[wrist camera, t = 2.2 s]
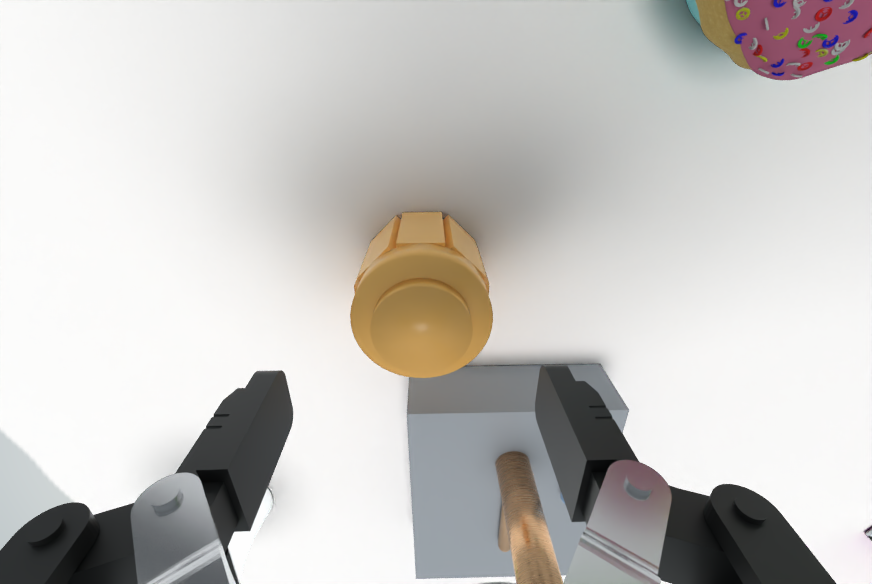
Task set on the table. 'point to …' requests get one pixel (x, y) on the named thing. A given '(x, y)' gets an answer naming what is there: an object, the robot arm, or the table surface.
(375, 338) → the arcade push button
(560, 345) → the table surface
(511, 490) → the wooden post
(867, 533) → the candy bar box
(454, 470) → the box
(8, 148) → the table surface
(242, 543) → the beer glass
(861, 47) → the cupcake
